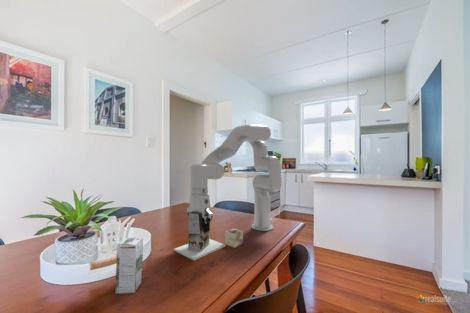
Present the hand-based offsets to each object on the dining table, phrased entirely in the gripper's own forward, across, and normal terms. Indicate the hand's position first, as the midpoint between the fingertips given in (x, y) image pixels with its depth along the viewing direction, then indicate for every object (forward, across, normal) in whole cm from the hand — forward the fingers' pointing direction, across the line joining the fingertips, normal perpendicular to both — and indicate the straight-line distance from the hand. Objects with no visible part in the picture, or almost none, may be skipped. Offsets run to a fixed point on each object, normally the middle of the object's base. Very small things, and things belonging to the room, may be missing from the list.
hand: (199, 229), depth 92 cm
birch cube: (+9, -8, -15) cm, 19 cm away
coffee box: (+8, 0, 0) cm, 8 cm away
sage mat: (+9, 0, -1) cm, 9 cm away
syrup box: (+8, -6, +32) cm, 34 cm away
